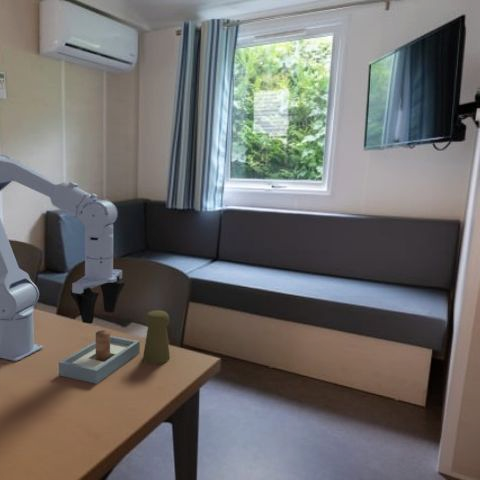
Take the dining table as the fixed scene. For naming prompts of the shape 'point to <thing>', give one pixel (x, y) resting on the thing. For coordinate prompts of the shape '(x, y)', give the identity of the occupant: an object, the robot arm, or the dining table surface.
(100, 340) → the peg
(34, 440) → the dining table surface
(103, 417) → the dining table surface
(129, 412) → the dining table surface
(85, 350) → the box
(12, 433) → the dining table surface
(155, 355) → the cork
